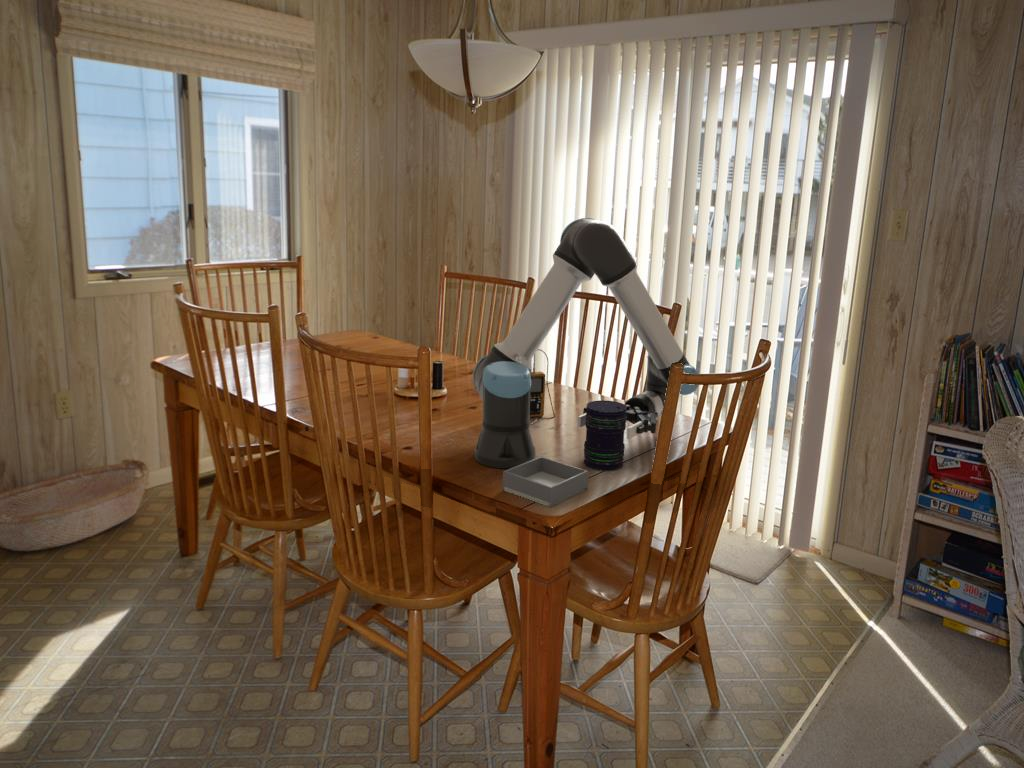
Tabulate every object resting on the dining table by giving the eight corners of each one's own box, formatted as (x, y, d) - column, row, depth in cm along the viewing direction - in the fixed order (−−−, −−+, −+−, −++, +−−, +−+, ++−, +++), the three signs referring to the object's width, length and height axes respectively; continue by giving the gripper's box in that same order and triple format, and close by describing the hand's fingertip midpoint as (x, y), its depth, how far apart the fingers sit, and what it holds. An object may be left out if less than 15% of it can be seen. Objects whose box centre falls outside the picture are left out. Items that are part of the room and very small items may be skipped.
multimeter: (514, 426, 220) (516, 357, 215) (505, 416, 229) (507, 349, 224) (564, 423, 224) (567, 355, 219) (553, 413, 233) (555, 347, 228)
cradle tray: (502, 490, 175) (503, 471, 174) (540, 474, 185) (541, 456, 184) (550, 507, 167) (551, 487, 166) (587, 489, 177) (588, 471, 176)
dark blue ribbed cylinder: (579, 468, 190) (582, 409, 186) (587, 455, 199) (590, 398, 195) (619, 473, 187) (623, 413, 183) (626, 460, 196) (630, 402, 192)
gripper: (685, 431, 200) (649, 453, 183) (600, 412, 214) (559, 431, 197) (688, 403, 198) (651, 422, 181) (601, 386, 212) (560, 403, 195)
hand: (603, 427), depth 189 cm, fingers open, 13 cm apart
